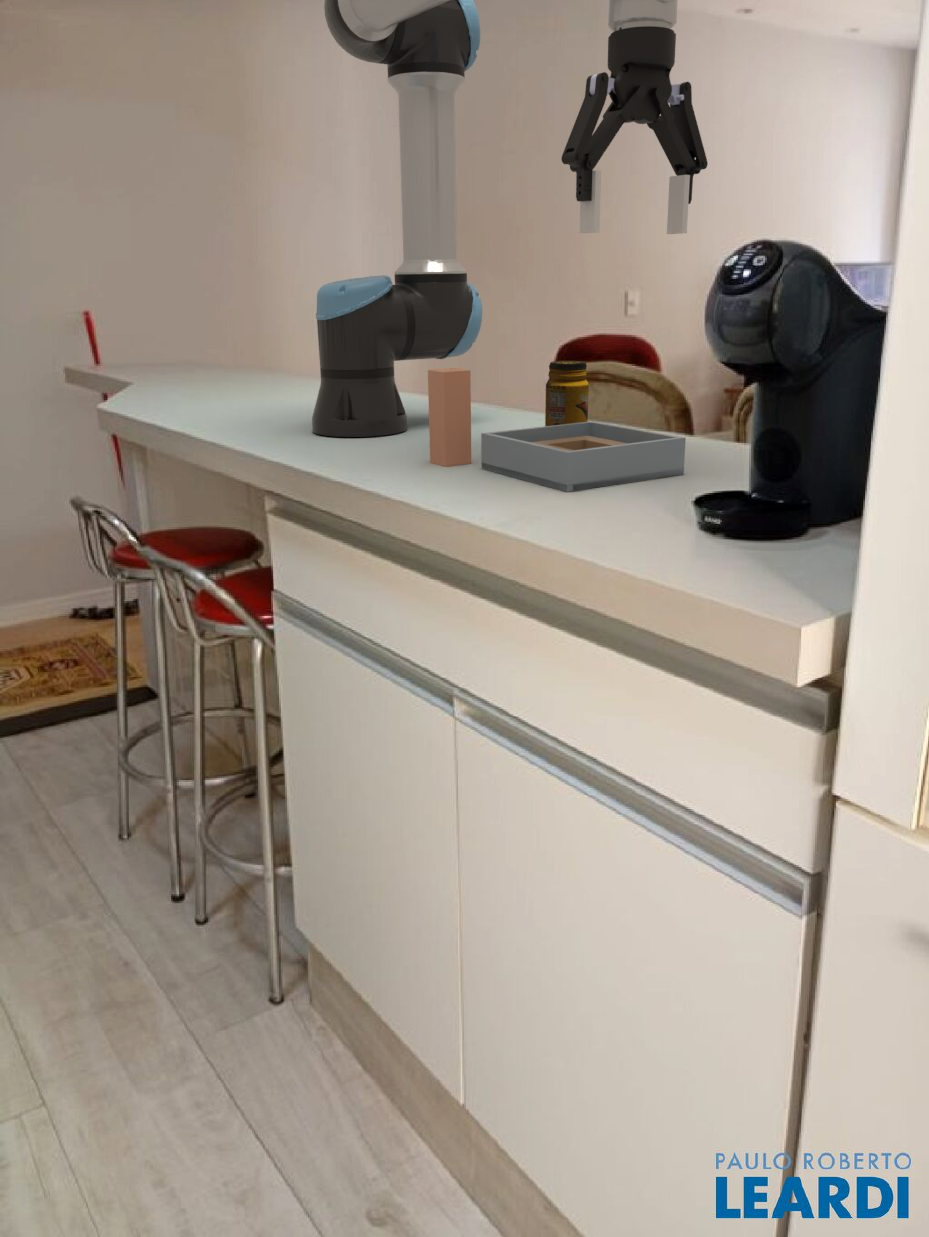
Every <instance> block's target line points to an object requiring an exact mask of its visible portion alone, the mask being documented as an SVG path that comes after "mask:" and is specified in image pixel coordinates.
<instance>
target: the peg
mask: <svg viewBox="0 0 929 1237" xmlns="http://www.w3.org/2000/svg"><path fill="white" fill-rule="evenodd" d="M471 382H472V381H471V370H470V369H465V368H464V369H463V368H457V367H456V368H455V367H453V368H440V369H439V368H438V369H437V368H436V369H428V370H427V383H428V384H427V386H428V387H427V388H428V422H429V423H428V425H429V426H428V427H429V431H428V432H429V434H428V435H429V436H428V437H429V462H430V463H432V464H436V465H440V466H441V467H446V468H447V467H451V466H452V467H453V466H461V465H468V464H469V465H470V464H472V401H471V400H472V397H471V396H472V395H471V393H472V392H471V389H472V388H471V385H472V384H471Z"/></svg>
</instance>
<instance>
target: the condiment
mask: <svg viewBox="0 0 929 1237" xmlns="http://www.w3.org/2000/svg"><path fill="white" fill-rule="evenodd" d="M548 369H549V370H548V375H547V376H548V380H547V382H546V383H545V402H544V403H545V408H544V409H545V413H544V414H545V415H544V416H545V418H544V419H545V420H544V424H545V425H544V426H553V425H562V424H571V423H581V422H589V421H588V420H589V415H588V414H589V391H590V389H589V385H590V384H589V381H587V380H588V379H587V363H586V362H585V361H582V360H554V361H551V362H550V363H549V365H548Z"/></svg>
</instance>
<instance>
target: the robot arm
mask: <svg viewBox="0 0 929 1237" xmlns="http://www.w3.org/2000/svg"><path fill="white" fill-rule="evenodd" d="M323 8H324V17H325V21H326V24H327V28H328V30H329V32H330V34H331V36H332V38H333V39H334V40H335V42H336V43H337V44H338V46H340V48H341V49H343V51H344V52H346V53H347V54H348V55H350V56H352V57H354V58H356V59H358V60H360V61H363V62H367V63H371V64H372V63H373V64H380V65H387V66H386V67H387V82H388V84H389V85H390V86H391V87H392V88H393V89H394V90H395V91H396V93H397V95H398V97H397V98H398V123H399V125H398V127H399V128H398V129H399V155H400V156H399V158H400V162H399V163H400V186H401V187H400V191H401V217H402V218H401V221H402V222H401V223H402V225H401V226H402V250H403V251H402V254H403V256H402V258H403V260H402V263H401V264H400V265H399V266H398V268H397V269H396V270H395V271H394V284H393V281H392V278H391V277H390V276H389V275H382V274H381V275H372V276H371V275H370V276H365V277H364V276H363V277H355V278H349V279H343V280H342V279H341V280H338V281H337V280H336V281H332V282H328V283H326V284H323V285H322V286H320V287H319V289H318V291H317V293H316V314H315V319H316V322H317V323H316V325H317V326H316V327H317V340H318V353H319V356H318V357H319V366H320V367H319V369H320V385H319V389H318V393H317V397H316V400H315V405H314V410H313V414H312V419H311V421H312V422H311V424H312V425H311V426H312V433H313V434H315V435H321V436H325V437H327V436H328V437H341V438H342V437H343V438H350V437H351V438H357V437H358V438H363V437H366V438H367V437H375V436H376V437H379V436H387V435H388V436H390V435H394V434H399V433H403V432H405V431H407V430H408V419H407V418H408V417H407V413H406V410H405V407H404V405H403V401H402V398H401V395H400V393H399V390H398V386H397V384H396V379H395V378H396V377H395V361H397V362H398V361H411V360H413V361H414V360H427V359H428V360H430V359H436V360H444V359H446V358H452V357H453V358H454V357H459V356H461V355H462V356H463V355H464V354H465V353H467V352H468V351H469V350H470V349H472V348H471V347H473V345H474V343H475V342H476V341H477V338H478V336H479V334H480V330H481V326H482V322H483V304H482V298H480V297H479V295H480V293H479V290H478V289H477V288H476V287H475V286H474V285H473V284H470V283H469V282H468V272H467V270H466V269H465V268H464V267H463V266H462V264H461V263H460V262H459V260H458V226H457V225H458V223H457V222H458V221H457V157H456V156H457V152H456V149H457V148H456V143H457V142H456V93H457V91H458V90H459V89H460V87H461V86H462V85H463V84H464V83H465V81H466V78H465V73H466V72H467V71H468V70H469V69H470V68H471V67H472V66H473V65H474V63H475V62H476V60H477V58H478V55H477V51H479V49H480V45H481V23H480V16H479V13H478V8H477V6H476V4H475V1H474V0H324V6H323ZM677 14H678V0H608V22H607V23H608V24H607V25H608V28H609V29H610V30H611V31H612V33H610V35H609V36H608V38H607V69H608V70H609V71H610V77H609V74H608V73H607V72H604V71H603V72H600V73H596V74H592V75H589V76H588V77H587V78H586V82H585V91H584V92H585V93H584V98H583V100H582V103H581V106H580V108H579V112H578V114H577V116H576V119H575V121H574V124H573V127H572V129H571V131H570V135H569V137H568V139H567V141H566V145H565V147H564V150H563V151H562V155H561V159H560V160H561V162H562V164H564V165H568V166H569V168H570V169H569V170H570V171H571V172H573V173H576V178H575V179H576V180H575V181H576V182H575V183H576V184H575V186H576V187H575V190H576V191H575V199H576V202H579V234H594V233H596V234H597V233H600V223H601V222H600V220H601V219H600V217H601V188H602V183H601V182H602V170H594V169H595V167H596V166H597V165H598V163H599V161H600V160H601V158H602V157H603V155H604V153H605V152H606V151H607V149H608V148H609V146H610V145H611V144H612V142H613V140H614V139H615V137H616V136H617V134H618V132H619V131H620V129H621V128H622V126H623V125H624V124H625V123H626V124H628V123H629V124H630V123H636V125H637V124H639V125H647V127H648V128H649V129H650V130H652V131H653V133H654V134H655V137H656V138H657V140H658V142H659V145H660V147H661V148H662V151H663V152H664V154H665V156H666V158H667V160H668V162H669V164H670V166H671V168H672V170H673V172H674V174H675V175H673V176H669V179H668V180H669V181H668V182H669V183H668V202H667V204H668V205H667V220H666V221H667V223H666V234H667V235H678V234H687V233H688V217H689V216H688V215H689V205H690V204H691V203H692V200H693V199H692V198H693V195H692V194H693V183H694V176H695V175H698V174H700V173H701V170H706V169H707V167H708V164H709V163H708V160H707V154H706V151H705V148H704V144H703V140H702V137H701V136H702V135H701V132H700V129H699V124H698V120H697V119H696V115H695V111H694V106H693V99H692V97H693V96H692V92H693V91H692V84H691V82H690V81H685V82H680V83H676V84H675V83H674V84H672V83H671V78H670V77H671V76H670V74H671V71H672V68H673V67H674V66H675V62H676V46H677V45H676V40H677V34H676V32H675V31H674V30H673V29H672V28H674V26H675V25H676V24H677V16H678V15H677ZM608 96H609V99H610V100H611V102H610V104H609V105H608V107H607V109H606V110H605V112H604V113H603V115H602V119H601V121H600V123H599V125H598V126H597V124H598V121H599V118H600V116H601V113H602V112H603V109H604V105H606V104H605V103H606V100H607V97H608ZM596 126H597V128H596Z"/></svg>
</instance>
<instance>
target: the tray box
mask: <svg viewBox="0 0 929 1237" xmlns="http://www.w3.org/2000/svg"><path fill="white" fill-rule="evenodd" d="M480 436H481V438H480V439H481V441H480V443H481V444H480V445H481V446H480V447H481V448H480V449H481V452H480V453H481V455H480V458H481V469H482V470H486V471H489V472H494V473H497V474H500V475H504V476H508V477H511V478H515V479H519V480H522V481H527V482H530V483H533V484H537V485H541V486H544V487H548V488H552V489H555V490H558V491H562V492H566V493H571V492H576V491H584V490H589V489H596V488H602V487H609V486H614V485H622V484H629V483H636V482H641V481H649V480H654V479H655V480H656V479H661V478H669V477H674V476H682V475H684V472H685V458H686V457H685V455H686V442H687V441H686V437H685V436H684V437H683V436H679V435H673V434H667V433H666V434H665V433H661V432H654V431H650V430H644V429H640V428H638V429H637V428H633V427H626V426H623V425H622V426H621V425H615V424H609V423H605V422H599V421H594V420H593V421H592V420H590V421H588V422H581V423H571V424H562V425H553V426H545V425H544V426H536V427H526V428H518V429H509V430H507V429H506V430H500V431H490V432H481V435H480Z"/></svg>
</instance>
